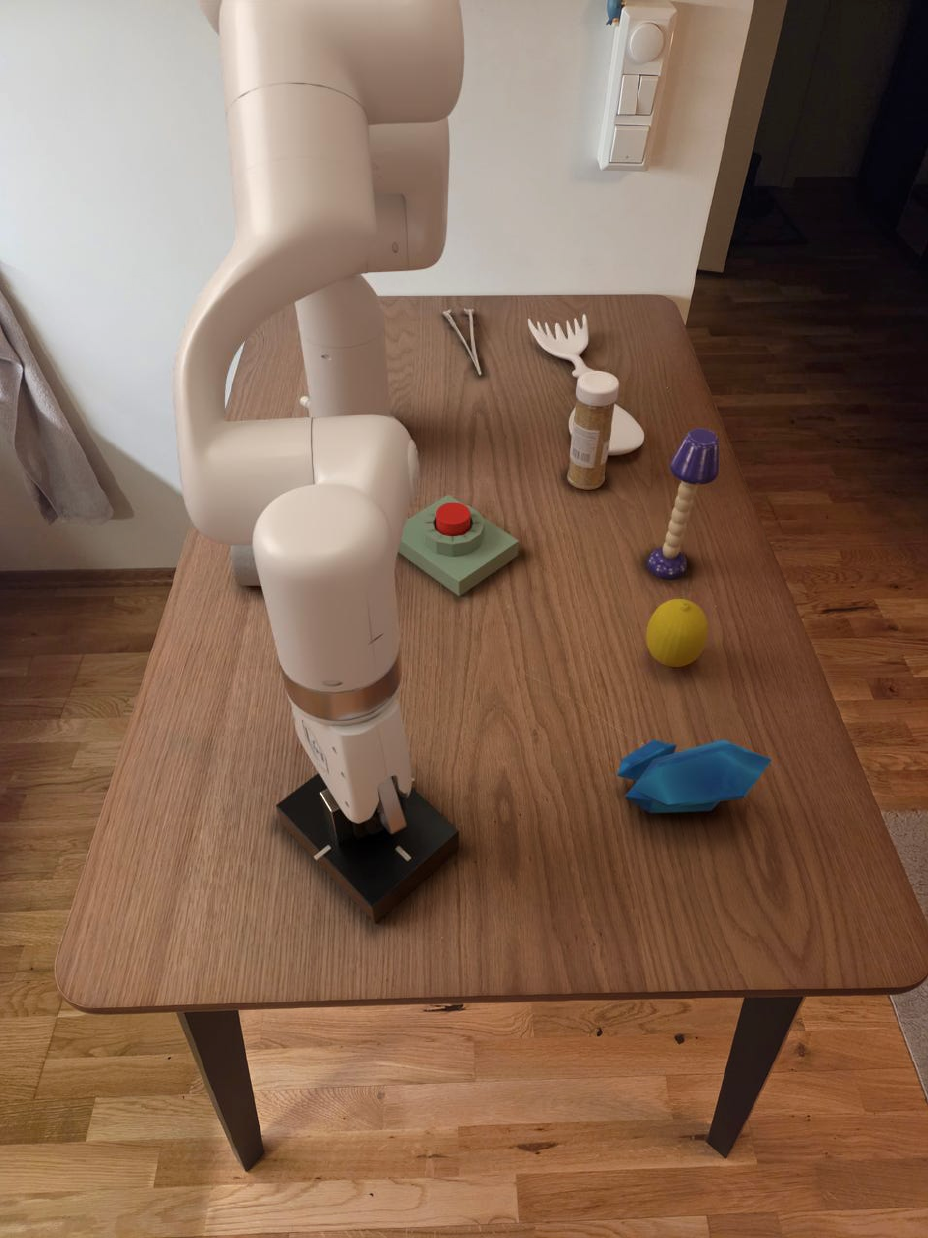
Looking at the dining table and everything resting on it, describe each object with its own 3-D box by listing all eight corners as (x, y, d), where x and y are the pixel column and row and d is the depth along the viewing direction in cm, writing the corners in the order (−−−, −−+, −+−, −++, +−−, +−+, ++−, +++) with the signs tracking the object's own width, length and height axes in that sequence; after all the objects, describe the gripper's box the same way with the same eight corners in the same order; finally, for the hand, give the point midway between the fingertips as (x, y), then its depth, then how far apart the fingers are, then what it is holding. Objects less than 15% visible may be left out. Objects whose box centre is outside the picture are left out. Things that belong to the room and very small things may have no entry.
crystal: (605, 724, 70) (753, 692, 69) (615, 778, 76) (750, 750, 75) (625, 804, 65) (785, 771, 64) (634, 855, 71) (780, 826, 70)
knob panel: (274, 828, 71) (268, 808, 69) (369, 755, 76) (366, 735, 74) (369, 930, 65) (365, 912, 63) (464, 844, 70) (464, 824, 68)
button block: (389, 545, 95) (387, 517, 92) (448, 508, 99) (447, 481, 96) (459, 596, 89) (459, 569, 86) (518, 555, 94) (520, 527, 91)
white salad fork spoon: (584, 332, 126) (586, 310, 124) (652, 463, 105) (656, 439, 102) (524, 337, 125) (525, 315, 123) (580, 470, 104) (583, 447, 101)
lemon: (663, 691, 81) (679, 634, 75) (629, 651, 84) (641, 594, 78) (709, 670, 83) (728, 613, 77) (674, 632, 86) (690, 575, 80)
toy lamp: (659, 545, 95) (689, 416, 83) (698, 562, 93) (735, 432, 81) (639, 569, 92) (667, 440, 80) (679, 587, 90) (714, 457, 78)
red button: (429, 525, 91) (428, 512, 90) (453, 510, 93) (453, 497, 92) (452, 541, 90) (452, 529, 88) (477, 525, 91) (477, 513, 90)
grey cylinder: (317, 601, 89) (308, 544, 83) (237, 600, 89) (223, 544, 83) (328, 534, 96) (320, 478, 90) (255, 533, 96) (242, 477, 90)
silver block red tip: (338, 845, 67) (330, 810, 63) (326, 826, 68) (318, 790, 64) (405, 809, 69) (402, 773, 65) (393, 790, 70) (389, 754, 66)
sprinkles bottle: (612, 483, 102) (628, 383, 92) (582, 496, 101) (595, 396, 91) (587, 463, 105) (601, 364, 95) (558, 476, 103) (568, 376, 93)
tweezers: (441, 316, 129) (441, 303, 128) (472, 313, 130) (473, 301, 129) (463, 385, 119) (463, 372, 117) (496, 382, 119) (497, 370, 118)
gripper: (237, 610, 58) (279, 763, 71) (346, 783, 48) (371, 921, 62) (338, 568, 60) (360, 723, 74) (459, 725, 51) (459, 869, 65)
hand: (365, 813), depth 68 cm, fingers closed on silver block red tip, 2 cm apart
